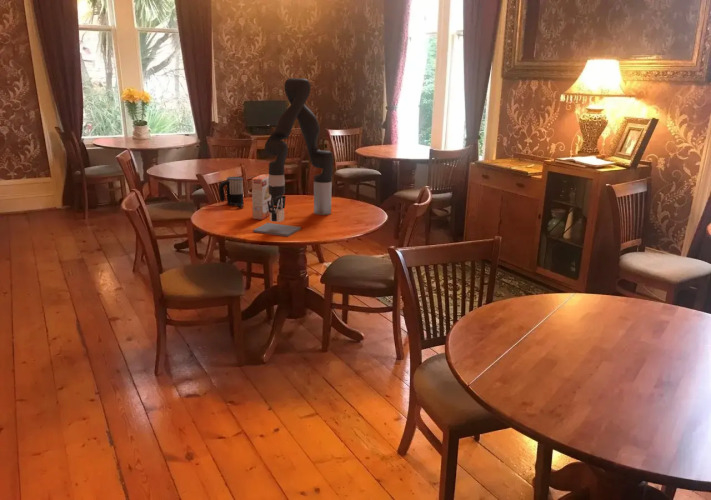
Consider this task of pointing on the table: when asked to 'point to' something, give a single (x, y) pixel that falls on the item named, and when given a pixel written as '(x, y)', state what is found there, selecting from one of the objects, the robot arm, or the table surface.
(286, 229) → the slate mat
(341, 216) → the table surface
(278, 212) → the cream cube
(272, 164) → the robot arm
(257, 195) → the cracker box
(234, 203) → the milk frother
